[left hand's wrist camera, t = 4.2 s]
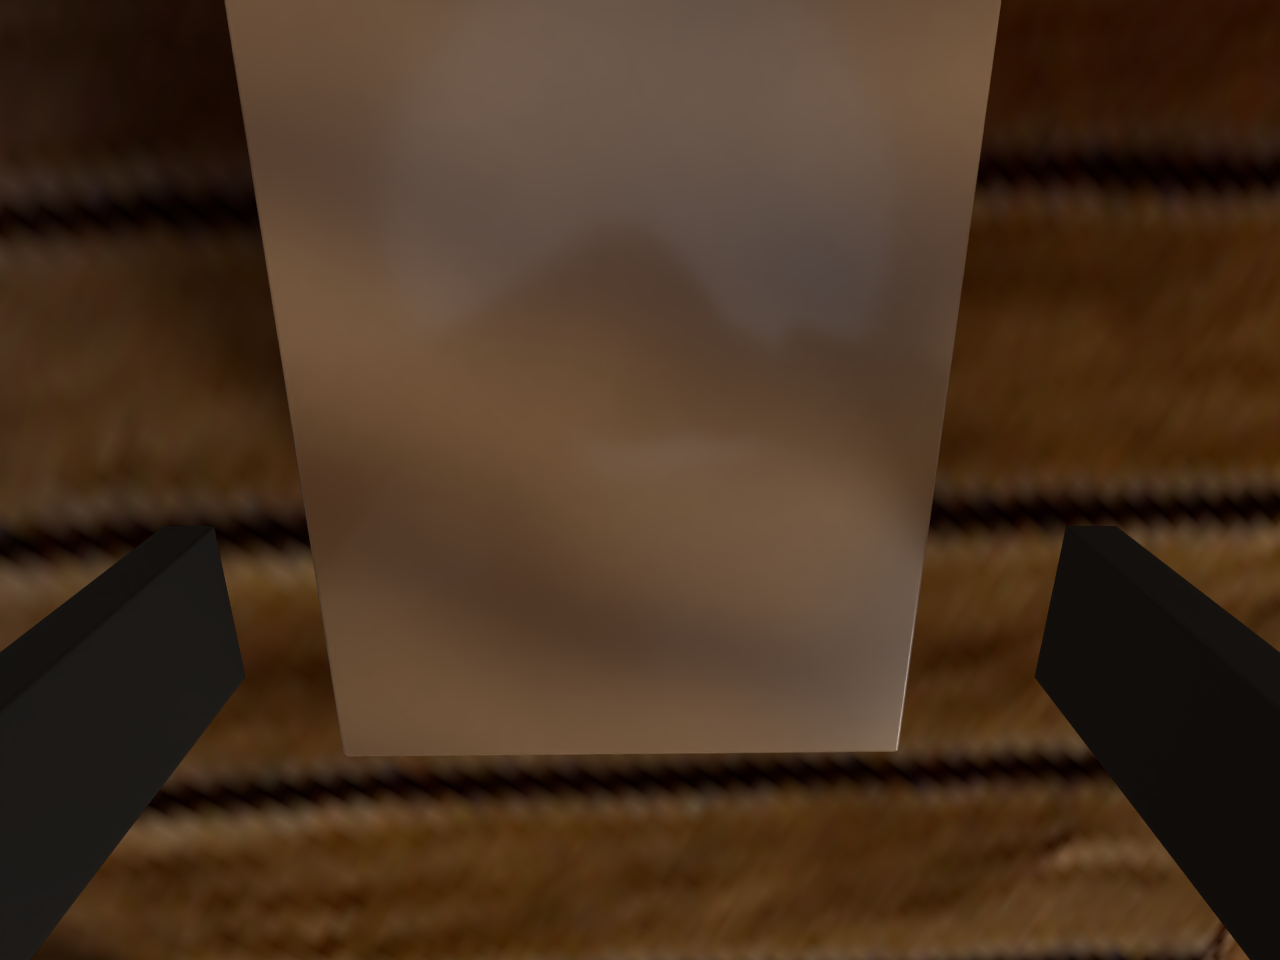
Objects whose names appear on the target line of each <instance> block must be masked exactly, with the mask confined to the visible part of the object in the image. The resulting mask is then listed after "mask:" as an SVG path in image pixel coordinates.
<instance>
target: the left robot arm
mask: <svg viewBox="0 0 1280 960" xmlns="http://www.w3.org/2000/svg"><path fill="white" fill-rule="evenodd" d="M244 678H245V673H244V669H243V664H242V659H241V654H240V649H239V645H238V640H237V635H236V630H235V625H234V621H233V616H232V611H231V606H230V601H229V597H228V592H227V587H226V582H225V578H224V573H223V568H222V563H221V558H220V554H219V549H218V544H217V539H216V534H215V530H214V526H164V527H162V528H161V529H160V530H158V531H157V532H156V533H155V534H153V535H152V536H151V537H149V538H148V539H147V540H145V541H144V542H143V543H142V544H140V545H139V546H138V547H136V548H135V549H134V550H132V551H131V552H130V553H129V554H127V555H126V556H125V557H123V558H122V559H121V560H119V561H118V562H117V563H116V564H114V565H113V566H112V567H110V568H109V569H108V570H107V571H105V572H104V573H103V574H101V575H100V576H99V577H97V578H96V579H95V580H94V581H92V582H91V583H90V584H88V585H87V586H86V587H84V588H83V589H82V590H81V591H79V592H78V593H77V594H75V595H74V596H73V597H71V598H70V599H69V600H68V601H66V602H65V603H64V604H62V605H61V606H60V607H59V608H57V609H56V610H55V611H53V612H52V613H51V614H49V615H48V616H47V617H46V618H44V619H43V620H42V621H40V622H39V623H38V624H36V625H35V626H34V627H33V628H31V629H30V630H29V631H27V632H26V633H25V634H23V635H22V636H21V637H20V638H18V639H17V640H16V641H14V642H13V643H12V644H11V645H9V646H8V647H7V648H5V649H4V650H3V651H1V652H0V960H30V959H31V958H32V956H33V955H34V954H35V952H36V951H37V950H38V948H39V947H40V946H41V944H42V943H43V942H44V941H45V939H46V938H47V937H48V935H49V934H50V933H51V931H52V930H53V929H54V927H55V926H56V925H57V924H58V922H59V921H60V920H61V918H62V917H63V916H64V914H65V913H66V912H67V910H68V909H69V908H70V906H71V905H72V904H73V903H74V901H75V900H76V899H77V897H78V896H79V895H80V893H81V892H82V891H83V889H84V888H85V887H86V885H87V884H88V883H89V882H90V880H91V879H92V878H93V876H94V875H95V874H96V872H97V871H98V870H99V868H100V867H101V866H102V864H103V863H104V862H105V861H106V859H107V858H108V857H109V855H110V854H111V853H112V851H113V850H114V849H115V847H116V846H117V845H118V843H119V842H120V841H121V840H122V838H123V837H124V836H125V834H126V833H127V832H128V830H129V829H130V828H131V826H132V825H133V824H134V822H135V821H136V820H137V819H138V817H139V816H140V815H141V813H142V812H143V811H144V809H145V808H146V807H147V805H148V804H149V803H150V802H151V800H152V799H153V798H154V796H155V795H156V794H157V792H158V791H159V790H160V788H161V787H162V786H163V784H164V783H165V782H166V781H167V779H168V778H169V777H170V775H171V774H172V773H173V771H174V770H175V769H176V767H177V766H178V765H179V763H180V762H181V761H182V760H183V758H184V757H185V756H186V754H187V753H188V752H189V750H190V749H191V748H192V746H193V745H194V744H195V742H196V741H197V740H198V739H199V737H200V736H201V735H202V733H203V732H204V731H205V729H206V728H207V727H208V725H209V724H210V723H211V721H212V720H213V719H214V718H215V716H216V715H217V714H218V712H219V711H220V710H221V708H222V707H223V706H224V704H225V703H226V702H227V700H228V699H229V698H230V697H231V695H232V694H233V693H234V691H235V690H236V689H237V687H238V686H239V685H240V683H241V682H242V681H243V679H244ZM1035 678H1036V679H1037V681H1038V682H1039V683H1040V685H1041V686H1042V687H1043V689H1044V690H1045V691H1046V693H1047V694H1048V695H1049V697H1050V698H1051V699H1052V700H1053V702H1054V703H1055V704H1056V706H1057V707H1058V708H1059V710H1060V711H1061V712H1062V714H1063V715H1064V716H1065V718H1066V719H1067V720H1068V721H1069V723H1070V724H1071V725H1072V727H1073V728H1074V729H1075V731H1076V732H1077V733H1078V735H1079V736H1080V737H1081V739H1082V740H1083V741H1084V742H1085V744H1086V745H1087V746H1088V748H1089V749H1090V750H1091V752H1092V753H1093V754H1094V756H1095V757H1096V758H1097V760H1098V761H1099V762H1100V763H1101V765H1102V766H1103V767H1104V769H1105V770H1106V771H1107V773H1108V774H1109V775H1110V777H1111V778H1112V779H1113V781H1114V782H1115V783H1116V784H1117V786H1118V787H1119V788H1120V790H1121V791H1122V792H1123V794H1124V795H1125V796H1126V798H1127V799H1128V800H1129V802H1130V803H1131V804H1132V805H1133V807H1134V808H1135V809H1136V811H1137V812H1138V813H1139V815H1140V816H1141V817H1142V819H1143V820H1144V821H1145V822H1146V824H1147V825H1148V826H1149V828H1150V829H1151V830H1152V832H1153V833H1154V834H1155V836H1156V837H1157V838H1158V840H1159V841H1160V842H1161V843H1162V845H1163V846H1164V847H1165V849H1166V850H1167V851H1168V853H1169V854H1170V855H1171V857H1172V858H1173V859H1174V861H1175V862H1176V863H1177V864H1178V866H1179V867H1180V868H1181V870H1182V871H1183V872H1184V874H1185V875H1186V876H1187V878H1188V879H1189V880H1190V882H1191V883H1192V884H1193V885H1194V887H1195V888H1196V889H1197V891H1198V892H1199V893H1200V895H1201V896H1202V897H1203V899H1204V900H1205V901H1206V903H1207V904H1208V905H1209V906H1210V908H1211V909H1212V910H1213V912H1214V913H1215V914H1216V916H1217V917H1218V918H1219V920H1220V921H1221V922H1222V924H1223V925H1224V926H1225V927H1226V929H1227V930H1228V931H1229V933H1230V934H1231V935H1232V937H1233V938H1234V939H1235V941H1236V942H1237V943H1238V944H1239V946H1240V947H1241V948H1242V950H1243V951H1244V952H1245V954H1246V955H1247V956H1248V958H1249V959H1250V960H1280V652H1279V651H1277V650H1276V649H1275V648H1273V647H1272V646H1271V645H1269V644H1268V643H1267V642H1266V641H1264V640H1263V639H1262V638H1260V637H1259V636H1258V635H1257V634H1255V633H1254V632H1253V631H1251V630H1250V629H1249V628H1247V627H1246V626H1245V625H1244V624H1242V623H1241V622H1240V621H1238V620H1237V619H1236V618H1234V617H1233V616H1232V615H1231V614H1229V613H1228V612H1227V611H1225V610H1224V609H1223V608H1221V607H1220V606H1219V605H1218V604H1216V603H1215V602H1214V601H1212V600H1211V599H1210V598H1209V597H1207V596H1206V595H1205V594H1203V593H1202V592H1201V591H1199V590H1198V589H1197V588H1196V587H1194V586H1193V585H1192V584H1190V583H1189V582H1188V581H1186V580H1185V579H1184V578H1183V577H1181V576H1180V575H1179V574H1177V573H1176V572H1175V571H1173V570H1172V569H1171V568H1170V567H1168V566H1167V565H1166V564H1164V563H1163V562H1162V561H1161V560H1159V559H1158V558H1157V557H1155V556H1154V555H1153V554H1151V553H1150V552H1149V551H1148V550H1146V549H1145V548H1144V547H1142V546H1141V545H1140V544H1138V543H1137V542H1136V541H1135V540H1133V539H1132V538H1131V537H1129V536H1128V535H1127V534H1125V533H1124V532H1123V531H1122V530H1120V529H1119V528H1118V527H1116V526H1066V530H1065V534H1064V539H1063V544H1062V549H1061V554H1060V558H1059V563H1058V568H1057V573H1056V578H1055V582H1054V587H1053V592H1052V597H1051V601H1050V606H1049V611H1048V616H1047V621H1046V625H1045V630H1044V635H1043V640H1042V645H1041V649H1040V654H1039V659H1038V664H1037V669H1036V673H1035Z"/></svg>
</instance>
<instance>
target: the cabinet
mask: <svg viewBox="0 0 1280 960" xmlns="http://www.w3.org/2000/svg"><path fill="white" fill-rule="evenodd" d="M224 1H225V8H226V14H227V20H228V27H229V33H230V39H231V45H232V52H233V58H234V64H235V71H236V77H237V83H238V90H239V96H240V102H241V109H242V115H243V121H244V128H245V134H246V140H247V146H248V153H249V159H250V165H251V172H252V178H253V184H254V191H255V197H256V203H257V210H258V216H259V222H260V229H261V235H262V241H263V248H264V254H265V260H266V266H267V273H268V279H269V285H270V292H271V298H272V304H273V311H274V317H275V323H276V330H277V336H278V342H279V349H280V355H281V361H282V367H283V374H284V380H285V386H286V393H287V399H288V405H289V412H290V418H291V424H292V431H293V437H294V443H295V450H296V456H297V462H298V468H299V475H300V481H301V487H302V494H303V500H304V506H305V513H306V519H307V525H308V532H309V538H310V544H311V551H312V557H313V563H314V570H315V576H316V582H317V588H318V595H319V601H320V607H321V614H322V620H323V626H324V633H325V639H326V645H327V652H328V658H329V664H330V671H331V677H332V683H333V689H334V696H335V702H336V708H337V715H338V721H339V727H340V734H341V740H342V746H343V753H344V755H345V756H458V755H569V754H680V753H791V752H895V751H898V747H899V740H900V733H901V726H902V718H903V711H904V704H905V697H906V689H907V682H908V675H909V667H910V660H911V653H912V646H913V638H914V631H915V624H916V617H917V609H918V602H919V595H920V588H921V580H922V573H923V566H924V558H925V551H926V544H927V537H928V529H929V522H930V515H931V508H932V500H933V493H934V486H935V478H936V471H937V464H938V457H939V449H940V442H941V435H942V428H943V420H944V413H945V406H946V399H947V391H948V384H949V377H950V369H951V362H952V355H953V348H954V340H955V333H956V326H957V319H958V311H959V304H960V297H961V290H962V282H963V275H964V268H965V260H966V253H967V246H968V239H969V231H970V224H971V217H972V210H973V202H974V195H975V188H976V180H977V173H978V166H979V159H980V151H981V144H982V137H983V130H984V122H985V115H986V108H987V101H988V93H989V86H990V79H991V71H992V64H993V57H994V50H995V42H996V35H997V28H998V21H999V13H1000V6H1001V0H224Z"/></svg>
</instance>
